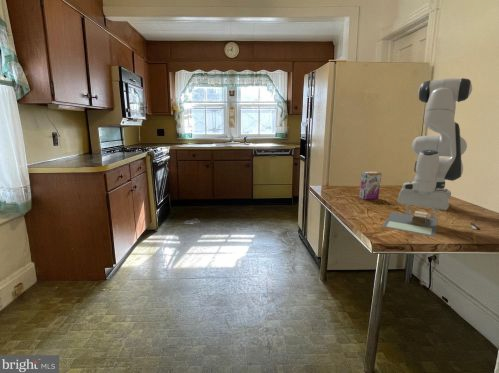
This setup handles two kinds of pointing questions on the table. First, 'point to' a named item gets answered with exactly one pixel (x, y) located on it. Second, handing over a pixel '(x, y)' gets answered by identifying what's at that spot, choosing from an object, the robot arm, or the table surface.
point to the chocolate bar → (474, 227)
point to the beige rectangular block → (419, 218)
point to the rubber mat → (410, 224)
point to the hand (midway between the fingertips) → (420, 215)
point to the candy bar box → (370, 185)
